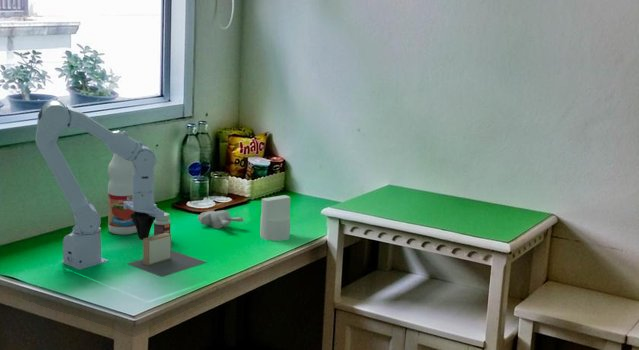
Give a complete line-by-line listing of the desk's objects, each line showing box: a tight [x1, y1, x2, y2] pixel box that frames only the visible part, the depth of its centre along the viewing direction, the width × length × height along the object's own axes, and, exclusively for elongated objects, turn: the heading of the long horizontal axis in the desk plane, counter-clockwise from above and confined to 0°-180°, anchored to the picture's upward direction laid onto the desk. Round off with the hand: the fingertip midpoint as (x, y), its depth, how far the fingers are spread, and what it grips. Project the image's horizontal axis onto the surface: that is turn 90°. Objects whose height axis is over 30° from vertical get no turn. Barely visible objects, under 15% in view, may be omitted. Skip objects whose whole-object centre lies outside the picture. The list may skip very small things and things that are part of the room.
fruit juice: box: [107, 152, 138, 236], centre depth 250 cm, size 9×9×28 cm
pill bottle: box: [153, 212, 171, 236], centre depth 243 cm, size 5×5×8 cm
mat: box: [127, 250, 208, 278], centre depth 225 cm, size 16×14×1 cm
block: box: [142, 233, 172, 265], centre depth 226 cm, size 8×2×7 cm, turn 141°
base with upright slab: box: [259, 194, 291, 242], centre depth 253 cm, size 9×9×12 cm
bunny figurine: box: [197, 209, 244, 230], centre depth 261 cm, size 10×5×15 cm
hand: (143, 238), depth 229 cm, fingers closed
